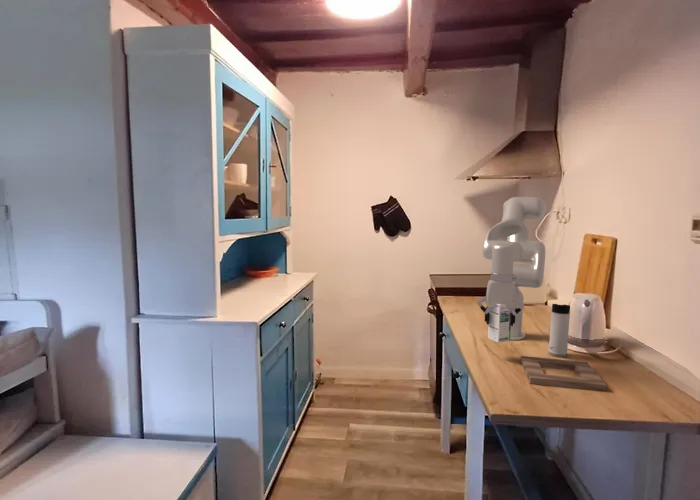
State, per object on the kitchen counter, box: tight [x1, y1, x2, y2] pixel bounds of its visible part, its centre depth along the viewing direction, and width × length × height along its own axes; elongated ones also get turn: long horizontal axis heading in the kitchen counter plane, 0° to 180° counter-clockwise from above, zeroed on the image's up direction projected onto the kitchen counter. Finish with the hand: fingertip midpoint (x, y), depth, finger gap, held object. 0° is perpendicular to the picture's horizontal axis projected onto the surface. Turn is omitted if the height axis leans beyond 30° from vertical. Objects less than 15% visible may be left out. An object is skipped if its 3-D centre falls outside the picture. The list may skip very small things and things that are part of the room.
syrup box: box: [487, 303, 511, 344], centre depth 161 cm, size 6×6×14 cm
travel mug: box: [548, 303, 571, 358], centre depth 166 cm, size 6×7×20 cm
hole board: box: [520, 355, 607, 392], centre depth 147 cm, size 20×22×2 cm
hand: (499, 324), depth 161 cm, fingers closed on syrup box, 8 cm apart
